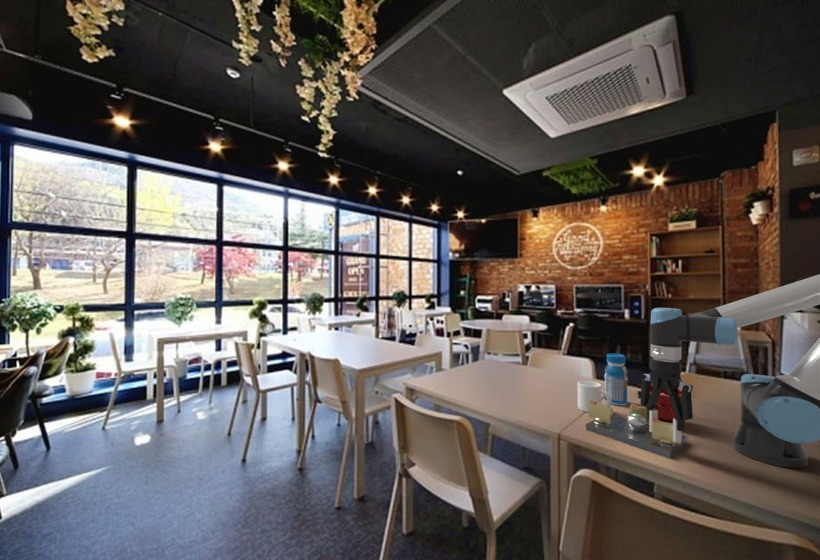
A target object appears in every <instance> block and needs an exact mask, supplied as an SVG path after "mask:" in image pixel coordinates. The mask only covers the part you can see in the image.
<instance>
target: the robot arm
mask: <svg viewBox="0 0 820 560" xmlns="http://www.w3.org/2000/svg"><path fill="white" fill-rule="evenodd" d="M819 305H820V273H819V274H815V275H813V276H810V277H807V278H804V279H801V280H797V281H795V282H792V283H787V284H785V285H783V286H782V285H781V286H779V287H776V288H773V289H769V290H766V291H764V292H759V293H758V294H755V295H751V296H747V297H745V298H741V299H738V300H736V301H733V302H729V303H726V304H724V305H721V306H717V307H714V308H711V309H708V310H705V311H701V312H699V311H698V312H695V313H692V314H690V315H683V312H682V310H681V309H680V308H671V307H655V308H653V309H651V312H650V322H649V323H650V324H649V325H650V329H649V330H650V353H649V354H650V357H651V358H650V359H649V360H650V361H649V362H650V365H649V366H650V367H649V369H650V373H642V374H640V379H641V381H642V382H641V383H642V389H640V391H641V398H640V405H641V407H644V406H645V407H646V408H647V419H649V431H650V432H651V420H652V419H658V410H656V409H655V408H657V407H656V404H657V401H658V399H659V396H660V394H662V393H661V391H662V390H665V391H667V394H668V395H669V396H670V400H671V403H672V406H673V409H674V413H675V416H676V418H674V419H673V441H674V442H678V441H682V435H683V433H682V432H685V429H686V421H688V420H689V421H690V420H693V418H694V414H693V400H692V392H693V389H694V386H693V385H692V384H687V383H685V382H683V380H682V378H681V375H682V362H681V360H682V342H691V343H703V344H715V345H719V346H721V345H731V346H732V345H735V344H736V343H737V340H738V335H739V333H738V329H739V328H742V327H743V328H744V327H745V326H750V325H753V324H756V323H760V322H763V321H764V322H765V321H767V320H770V319H773V318H777V317H781V316H784V315H788V314H792V313H795V312H798V311H802V310H806V309H809V308H812V307H816V306H819ZM652 381H653V383H654V384H653V386H652V392H651V395H650V388H651V382H652ZM739 385H740V423H739V425H738V428H737V430H736V432H735V434H734V436H733V440H732V441H733V442H732V447H733V449H734V450H736V451H737V452H739V453H740V454H742V455H744V456H746V457H749V458H751V459H753V460H756V461H758V462H759V461H760V462H761V463H766V464H769V465H773V466H778V467H782V468H783V467H784V468H789V469H790V468H793V469H800V468H801V469H802V468H803V469H804V468H806V467H808V462H809V461H808V458H809V457H808V454H807V452H806V450H805V448H804V445H803V444H811V443H815V442H818V441H820V337H819V338H818V339H817V340H816V341H815V342H814V344H813V345H812V346H811V347H810V348H809V349H808V350H807V351H806V353H805V354H804V356H802V358H801V359H800V360H799V361H798V362H797V363H796V365H795V366H794V367H793V368H792V370H790V372H789V373H788V374H781V375H776V376H771V375H762V374H753V373H751V374H750V373H746V374H743V375H741V377H740V383H739ZM679 387H680V388H679ZM678 389H681V390H682V391H681V398H682V403H681V400H680V397H679V390H678ZM672 391H673V392H672ZM654 409H655V410H654Z"/></svg>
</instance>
